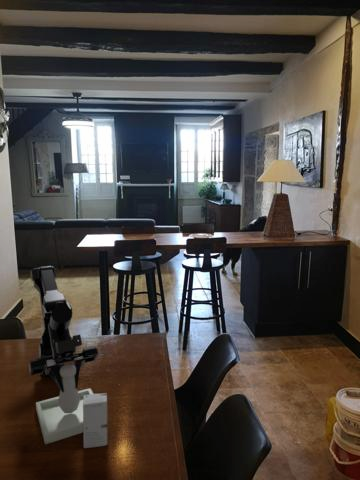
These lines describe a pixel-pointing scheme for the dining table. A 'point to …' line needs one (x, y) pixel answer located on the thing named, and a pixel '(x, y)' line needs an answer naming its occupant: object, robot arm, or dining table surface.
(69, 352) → the robot arm
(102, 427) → the skincare box
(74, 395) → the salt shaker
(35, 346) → the dining table surface
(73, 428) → the tray
